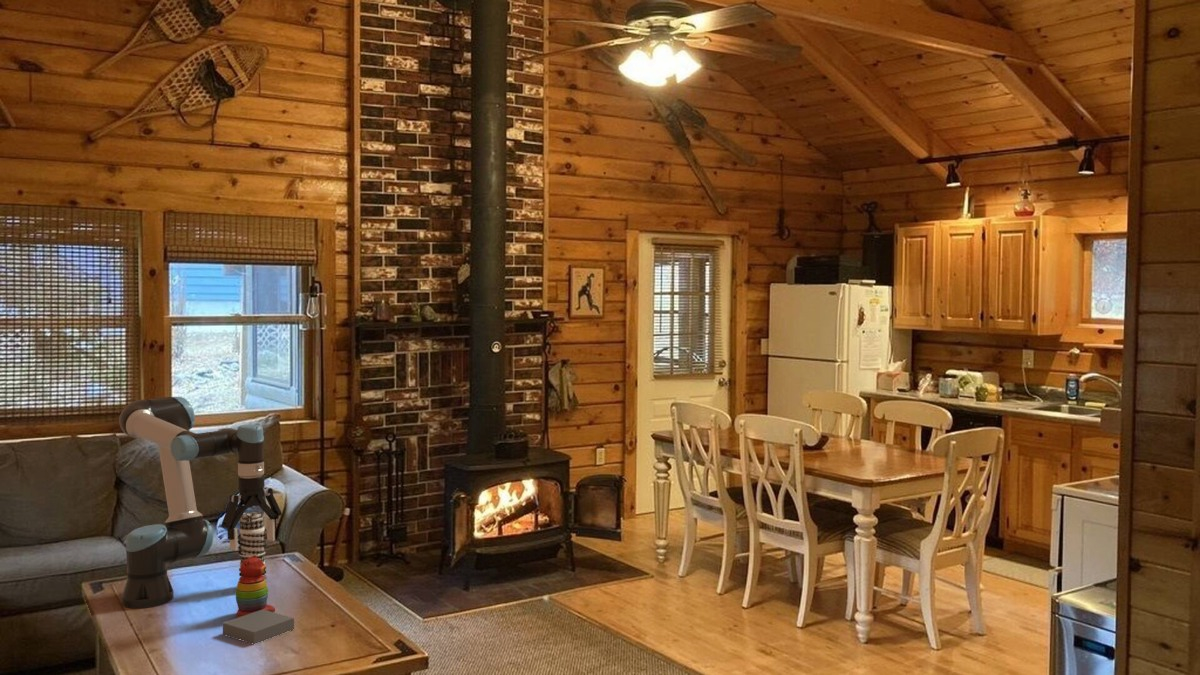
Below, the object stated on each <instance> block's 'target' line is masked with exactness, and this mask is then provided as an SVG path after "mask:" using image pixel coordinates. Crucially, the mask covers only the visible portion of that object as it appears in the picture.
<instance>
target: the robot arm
mask: <svg viewBox="0 0 1200 675" xmlns="http://www.w3.org/2000/svg"><path fill="white" fill-rule="evenodd" d="M195 420H196V415H195V411H194V409H193V406H192V404H191V403H190V401H189V400H187V398H185V397H182V396H165V397H156V398H148V399H138V400H134V401H132V402H130V403H128V404H127V405H126V406H124V408H123V409H122V410H121V413H120V414H119V419H118V422H119V424H118V425H119V427H120V429H121V431H122V432H123V433H124V434H126V435H127V436H128V437H131V438H134V439H138V440H140V439H144V440H146V441H148V442H151V443H153V444H156V445H157V446H158V453H159V459H160V465H161V472H162V478H163V485H164V491H165V498H166V499H165V500H166V504H167V510H168V518H167V519H166V520H165V522H164V524H165V525H164V524H161V523H158V524H157V523H155V524H148V525H142V526H140V527H137V528H135V529H133V530H132V531H130V532H129V533H128V535H127V536H126V543H125V544H126V545H125V552H126V554H125V555H126V575H127V576H126V582H125V586H124V588H123V591H122V594H121V606H123V607H125V608H132V609H142V608H143V609H145V608H153V607H156V606H162V605H164V604H167V603H170V602H171V601H172V600H173V599H174V589H173V586H172V584H171V581H170V578H169V574H168V565H169V564H174V563H178V562H182V561H187V560H192V559H193V560H194V559H196V558H200V557H202V556H205V555H206V554H208V553H209V551H211V548H212V546H213V542H214V529H213V526H212V525H211V523H210V522H209V520H207V519H204V516H203V513H201V512H200V511H198V509H197V503H196V496H195V491H194V490H195V489H194V483H193V477H192V470H191V464H190V461H194V460H198V459H204V458H210V457H211V458H212V457H219V456H225V455H237V475H238V476H239V477H238V480H237V481H238V482H237V483H238V484H237V486H238V487H237V488H238V490H239V494H236V495H234V494H231V495H230V496H229V503H228V507H227V508H226V512H225V514H224V516H223V519H222V522H221V525H220V526H221V528H224V529H227V540H229V550H232V551H235V552H236V551H239V548H238V547H239V546H238V545H239V544H238V528H236V526H237V525H238V523H240V521H239V520H240V518H241V517H242V515H244V514H245V512H246V510H248V509H249V508H253V507H260V509H261V510H262V511H263V513H265V514H266V515H267V517H269V518H266V530H267V531H266V534H267V535H266V541H272V542H274V541H276V529H277V520H279V517H281V516H282V514H283V513H282V511H281V508H280V506H279V505H278V502H277V500H276V499H275V498H276V497H275V496H274V490H273V488H271V487H265V486H266V485H265V476H264V474H265V436H264V428H263V426H262V425H260V424H243V425H239V426H238V427H237V429H235V428H232V427H227V428H226V427H224V428H220V429H218V430H215V431H209V432H208V431H206V432H200V433H196V432H193V431H190V430H191V429H192V428H193V427H194V425H195ZM264 496H265V499H266V500H265V499H264Z"/></svg>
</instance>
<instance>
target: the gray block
mask: <svg viewBox="0 0 1200 675" xmlns="http://www.w3.org/2000/svg"><path fill="white" fill-rule="evenodd" d="M293 629H294V630H295V618H294V617H292V616H288V615H285V614H281V613H278V612H275V611H274V612H270V611H267V610H263V609H262V610H259V611H256V612H253V613H251V614H248V615H245V616H242V617H239V618H238V617H236V618H233V619H230V620H227V621H224V622H222V635H223V636H225V635H227V636H226V637H228V636H230V637H229V638H231V637H234V638H237V639H236V640H238V639H241V640H244V641H247V642H250V643H253V644H252V645H254V644H255V643H258V642H260V643H262V642H261V641H263V642H265V641H264V640H266V639H269V638H271V639H273V638H272V637H274V636H277V635H279V636H281V635H280V634H282V633H285V632H287V631H290V630H293ZM294 630H293V631H294ZM290 632H291V631H290ZM285 634H286V633H285ZM282 635H283V634H282ZM277 637H278V636H277ZM234 638H233V639H234ZM274 638H275V637H274ZM241 640H240V641H241ZM269 640H270V639H269ZM244 641H243V642H244ZM266 641H267V640H266ZM247 642H246V643H247ZM250 643H249V644H250ZM258 644H259V643H258ZM255 645H256V644H255Z"/></svg>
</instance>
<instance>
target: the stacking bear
mask: <svg viewBox="0 0 1200 675" xmlns="http://www.w3.org/2000/svg"><path fill="white" fill-rule="evenodd" d="M265 566H266V563H265V564H264V563H263V562H262V561H261V560H260V559H259V558H256V556H255V555H254V556H252V557H251V558H247V559H245V560H244V561H243V562H242V563H241V566H240V565H239V568H240V570H241V574H242V575H243V576H242V577H241V576H240V577H241V578H240V577H239V578H240V580H239V579H238V581H237V585H236V589H235V601H236V604H237V605H236V606H237V608H238V609H237V612H236V618H239V617H242V616H245V615H248V614H251V613H253V612H256V611H259V610H262V609H263V610H267V611H270V612H274V613H275V611H276V608H275V607H274V606H273V605H270V604H267V603H268V597H269V588H268V585H267V580H266V579H265V577H264V576H263V575H262V574H263V573H264V571H265V570H266V569H267V566H266V567H265Z"/></svg>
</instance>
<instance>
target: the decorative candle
mask: <svg viewBox="0 0 1200 675" xmlns="http://www.w3.org/2000/svg"><path fill="white" fill-rule="evenodd" d="M264 519H265V516H263V515H262V514H261V513H260V512H255V511H254V512H247V513H243V515H242V517H241V518H240V520H239V530H238V531H239V534H237V539H238V545H239V546H238V550H237V551H238V556H240V562H239V568H238V571H239V573H238V574H239V575H238V576H239V578H238V581H239V580H240V578H241V577H242V576H243V575H242V574H241V570H240V566H241V563H242V562H243V561H244V560H245V559H247V558H251V557H252V556H254V555H255V556H256V558H259V559H260V560H261V561H262V562H263V563H264V564H265V567H266V568H267V566H266V561H265V554H266V553H267V550H266V549H265V547H266V546H267V544H266V543H265V542H267V538H265V537H267V528H265V522H264V521H265V520H264ZM266 574H267V571H266V569H265V571H264V573H263V574H262V575H263V576H264V577H265V580H266V579H267V575H266Z"/></svg>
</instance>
